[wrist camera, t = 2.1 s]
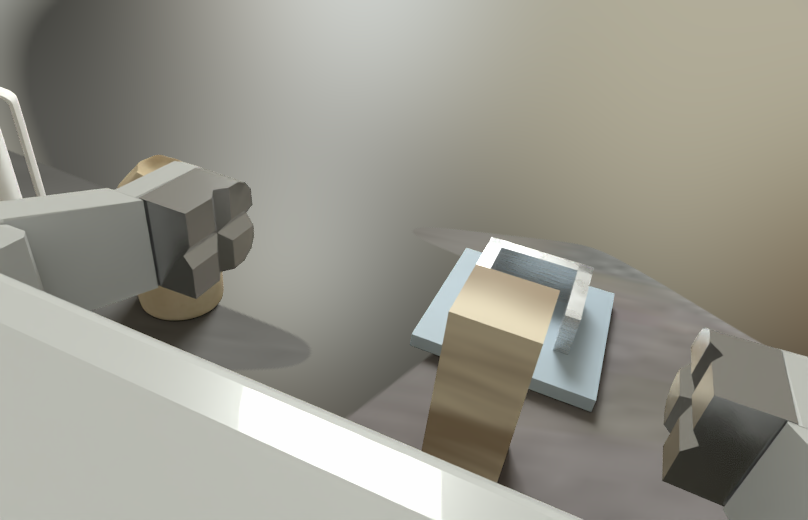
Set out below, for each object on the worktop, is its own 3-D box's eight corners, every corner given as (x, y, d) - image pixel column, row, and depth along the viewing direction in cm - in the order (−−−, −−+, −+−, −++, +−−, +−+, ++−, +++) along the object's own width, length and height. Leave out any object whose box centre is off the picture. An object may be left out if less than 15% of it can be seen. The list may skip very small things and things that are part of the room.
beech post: (490, 503, 28) (543, 343, 22) (417, 472, 30) (448, 311, 23) (509, 444, 32) (560, 290, 25) (442, 418, 33) (476, 264, 26)
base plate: (410, 345, 37) (411, 334, 37) (464, 257, 47) (466, 247, 46) (591, 412, 34) (595, 400, 34) (610, 303, 44) (614, 293, 43)
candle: (240, 296, 40) (230, 167, 34) (169, 333, 36) (145, 195, 30) (193, 263, 42) (177, 138, 37) (123, 294, 39) (93, 161, 33)
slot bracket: (458, 317, 39) (465, 282, 37) (484, 269, 44) (492, 237, 42) (567, 355, 37) (580, 320, 35) (581, 300, 42) (593, 267, 40)
